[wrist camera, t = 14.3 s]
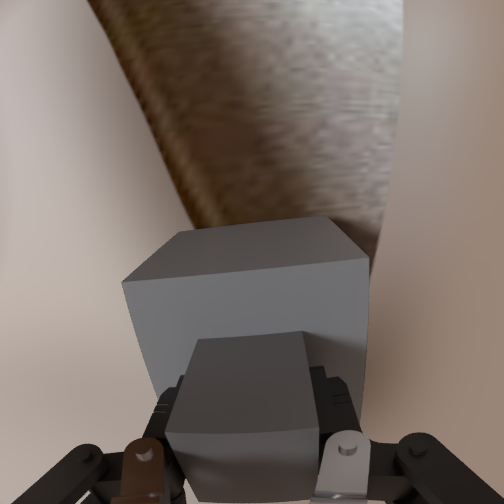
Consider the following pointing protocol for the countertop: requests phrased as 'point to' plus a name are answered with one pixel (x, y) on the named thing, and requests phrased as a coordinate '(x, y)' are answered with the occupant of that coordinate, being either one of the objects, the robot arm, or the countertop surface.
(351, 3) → the countertop surface
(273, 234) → the stepped gray cube pair
